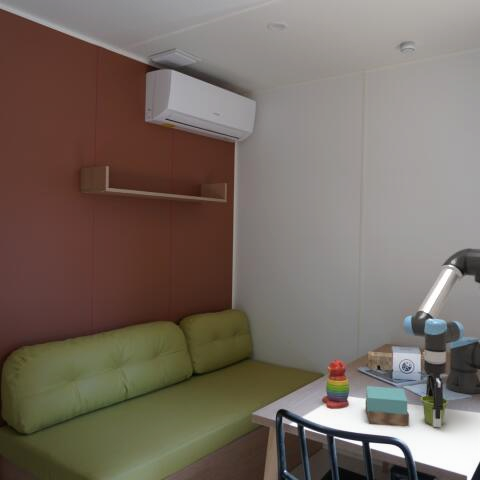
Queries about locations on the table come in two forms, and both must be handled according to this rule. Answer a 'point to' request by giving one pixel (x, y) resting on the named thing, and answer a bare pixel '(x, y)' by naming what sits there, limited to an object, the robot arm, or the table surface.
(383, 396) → the tower top
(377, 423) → the tower base
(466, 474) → the table surface
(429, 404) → the plant pot
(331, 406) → the stacking bear
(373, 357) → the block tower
